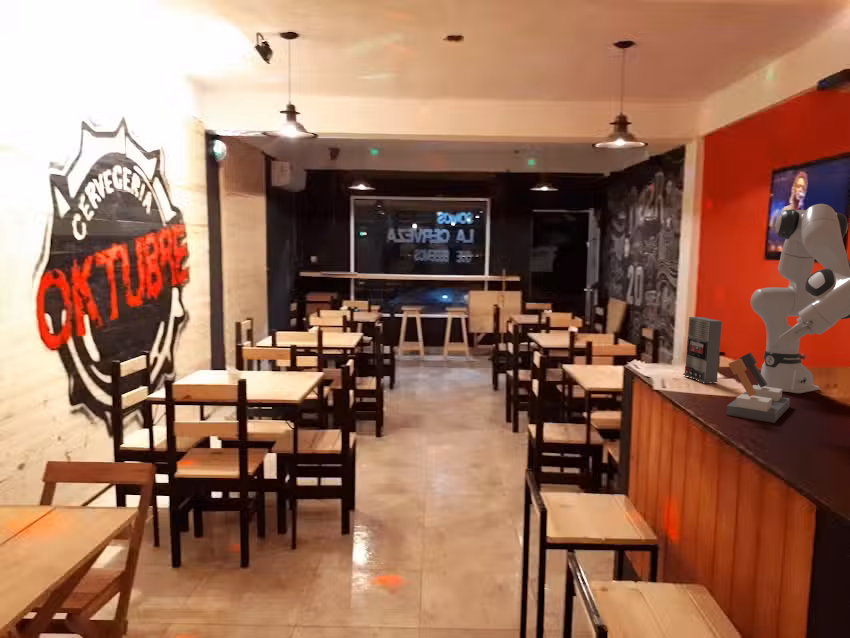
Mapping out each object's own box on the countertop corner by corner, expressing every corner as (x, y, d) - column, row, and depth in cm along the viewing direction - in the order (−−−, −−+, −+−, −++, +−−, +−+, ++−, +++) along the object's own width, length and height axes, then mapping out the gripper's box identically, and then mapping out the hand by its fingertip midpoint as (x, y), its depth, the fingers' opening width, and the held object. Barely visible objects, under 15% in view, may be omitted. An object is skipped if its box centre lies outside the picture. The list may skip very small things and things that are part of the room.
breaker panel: (744, 400, 229) (746, 383, 228) (789, 407, 221) (790, 389, 220) (726, 414, 209) (727, 396, 208) (774, 422, 200) (776, 404, 200)
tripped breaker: (748, 396, 210) (730, 362, 212) (759, 392, 207) (741, 358, 210) (746, 397, 207) (728, 363, 210) (757, 393, 205) (738, 359, 207)
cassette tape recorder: (682, 376, 268) (687, 317, 265) (695, 376, 269) (700, 316, 266) (703, 384, 254) (708, 321, 251) (717, 383, 256) (722, 321, 252)
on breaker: (760, 387, 224) (740, 357, 227) (770, 383, 222) (750, 352, 225) (758, 389, 221) (738, 358, 224) (768, 384, 219) (748, 353, 222)
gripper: (817, 332, 185) (775, 360, 192) (825, 324, 201) (787, 351, 209) (800, 315, 187) (760, 344, 195) (810, 309, 203) (773, 336, 211)
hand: (774, 348), depth 202 cm, fingers closed
